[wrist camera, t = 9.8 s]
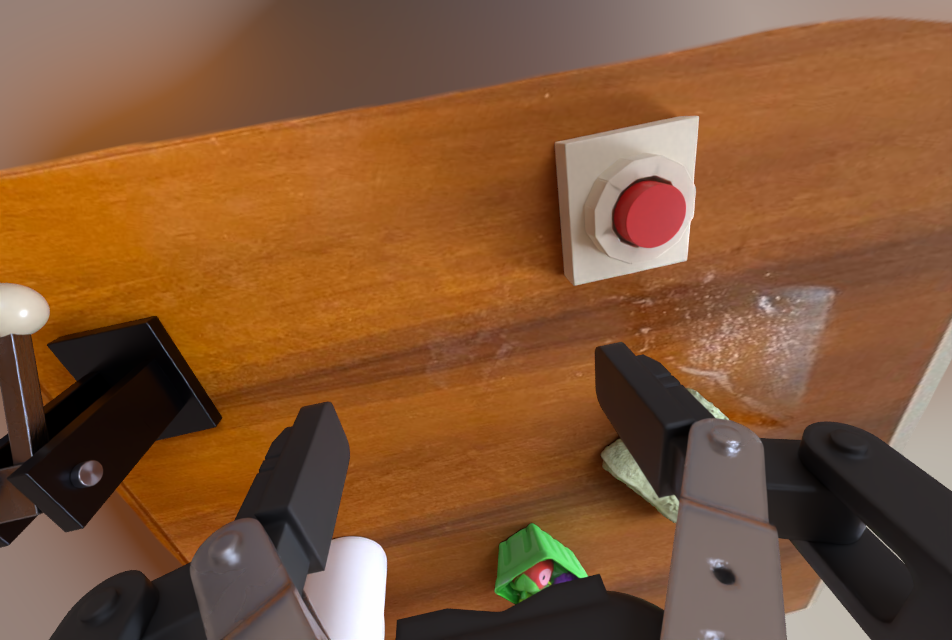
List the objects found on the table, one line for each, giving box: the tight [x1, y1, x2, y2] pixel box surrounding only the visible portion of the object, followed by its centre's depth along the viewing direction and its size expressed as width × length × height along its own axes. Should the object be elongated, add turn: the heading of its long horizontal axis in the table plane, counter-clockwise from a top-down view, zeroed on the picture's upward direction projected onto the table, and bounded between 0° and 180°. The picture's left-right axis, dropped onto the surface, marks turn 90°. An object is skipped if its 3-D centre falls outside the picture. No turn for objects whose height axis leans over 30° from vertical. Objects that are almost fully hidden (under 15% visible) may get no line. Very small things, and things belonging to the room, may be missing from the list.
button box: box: [555, 116, 699, 286], centre depth 27 cm, size 10×9×4 cm
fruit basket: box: [495, 523, 588, 605], centre depth 42 cm, size 11×9×11 cm
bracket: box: [0, 316, 222, 548], centre depth 25 cm, size 10×7×12 cm
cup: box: [303, 536, 387, 640], centre depth 40 cm, size 8×12×10 cm
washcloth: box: [601, 388, 729, 523], centre depth 41 cm, size 13×18×3 cm
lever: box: [0, 283, 50, 524], centre depth 22 cm, size 13×3×3 cm
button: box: [614, 181, 686, 248], centre depth 25 cm, size 4×4×2 cm
